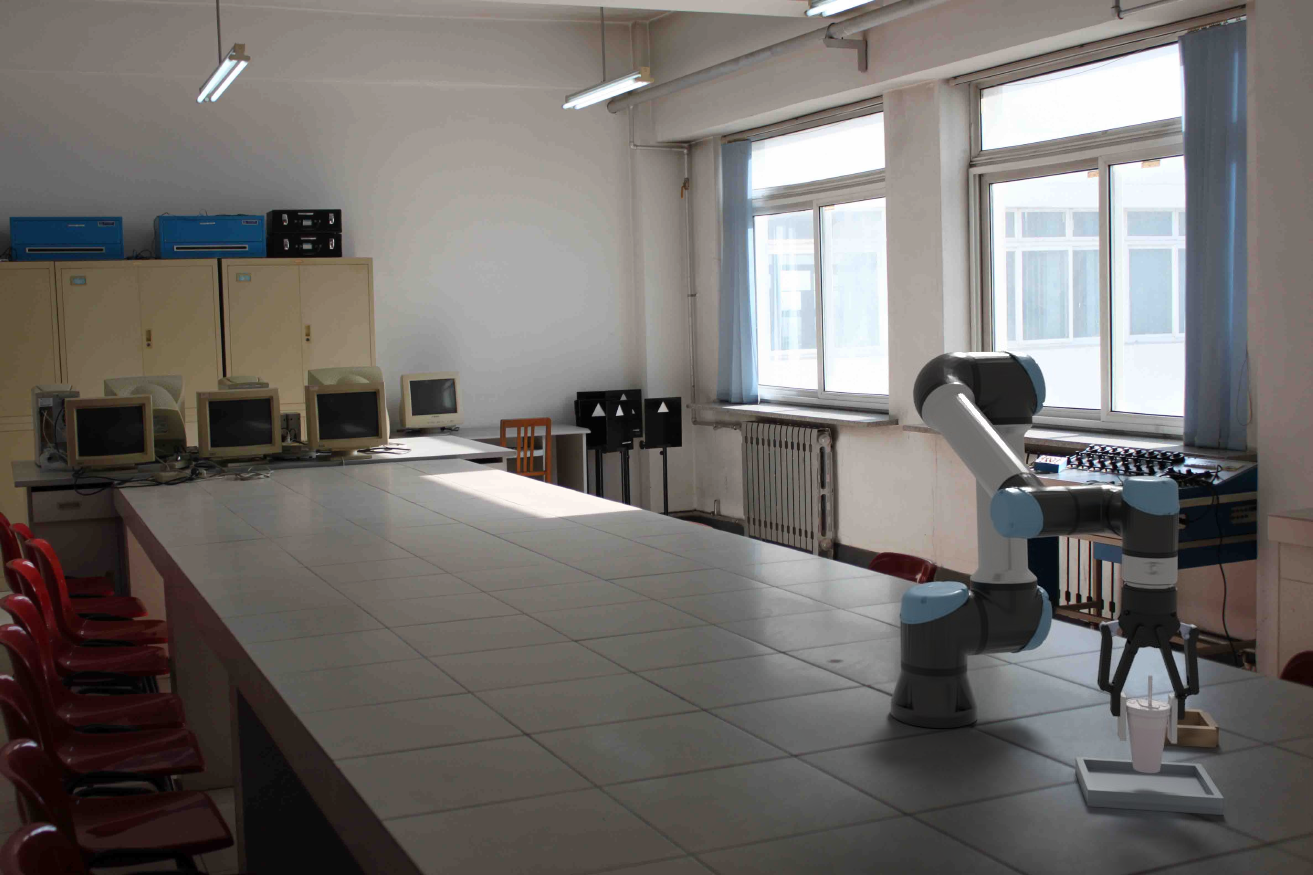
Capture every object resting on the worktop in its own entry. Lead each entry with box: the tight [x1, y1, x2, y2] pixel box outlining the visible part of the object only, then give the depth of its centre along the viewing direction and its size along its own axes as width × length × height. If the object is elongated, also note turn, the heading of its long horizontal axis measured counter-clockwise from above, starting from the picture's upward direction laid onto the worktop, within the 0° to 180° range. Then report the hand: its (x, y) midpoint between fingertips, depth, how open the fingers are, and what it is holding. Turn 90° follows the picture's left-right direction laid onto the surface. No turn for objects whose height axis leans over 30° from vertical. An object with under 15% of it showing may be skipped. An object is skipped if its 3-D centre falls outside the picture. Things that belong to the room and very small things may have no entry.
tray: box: [1074, 756, 1225, 816], centre depth 175 cm, size 18×14×2 cm
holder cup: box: [1164, 708, 1220, 748], centre depth 201 cm, size 11×11×3 cm
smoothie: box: [1126, 675, 1171, 773], centre depth 175 cm, size 6×6×14 cm
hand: (1146, 738), depth 175 cm, fingers closed on smoothie, 6 cm apart
